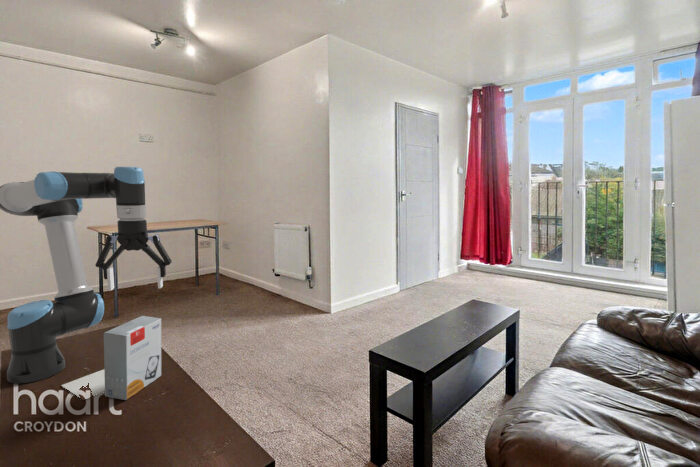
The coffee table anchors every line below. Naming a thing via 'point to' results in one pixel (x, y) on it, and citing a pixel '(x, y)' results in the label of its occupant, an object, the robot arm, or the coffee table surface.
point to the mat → (94, 381)
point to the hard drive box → (132, 356)
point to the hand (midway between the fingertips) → (136, 288)
